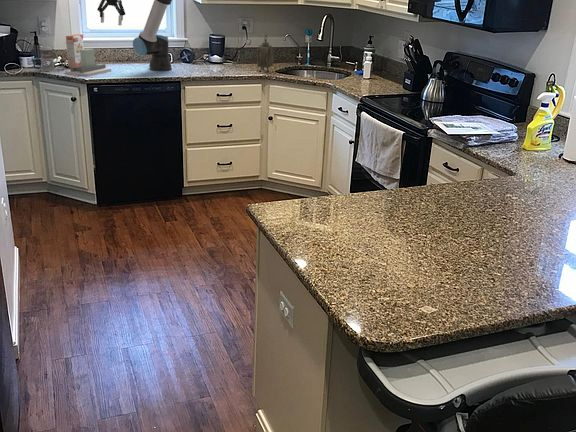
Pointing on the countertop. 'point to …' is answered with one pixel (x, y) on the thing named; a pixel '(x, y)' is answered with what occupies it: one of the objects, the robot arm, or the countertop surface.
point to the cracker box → (74, 49)
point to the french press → (44, 58)
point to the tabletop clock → (265, 55)
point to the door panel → (87, 58)
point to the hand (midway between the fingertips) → (111, 24)
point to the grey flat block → (88, 70)
